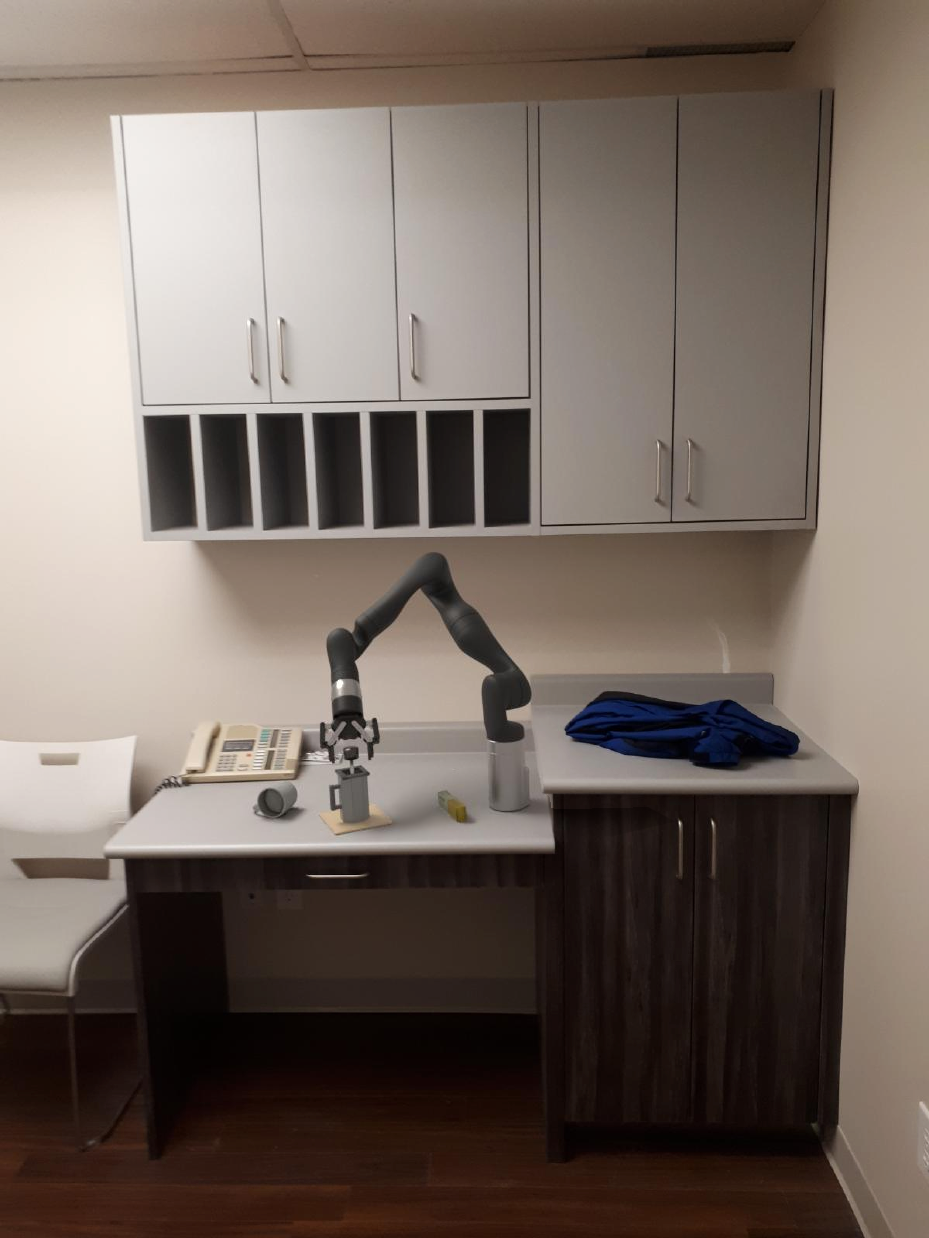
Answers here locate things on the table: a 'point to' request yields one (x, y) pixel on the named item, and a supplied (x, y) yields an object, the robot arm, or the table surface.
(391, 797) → the table surface
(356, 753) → the plunger
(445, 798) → the medication box
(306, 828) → the table surface
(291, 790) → the ceramic mug
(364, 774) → the carafe
